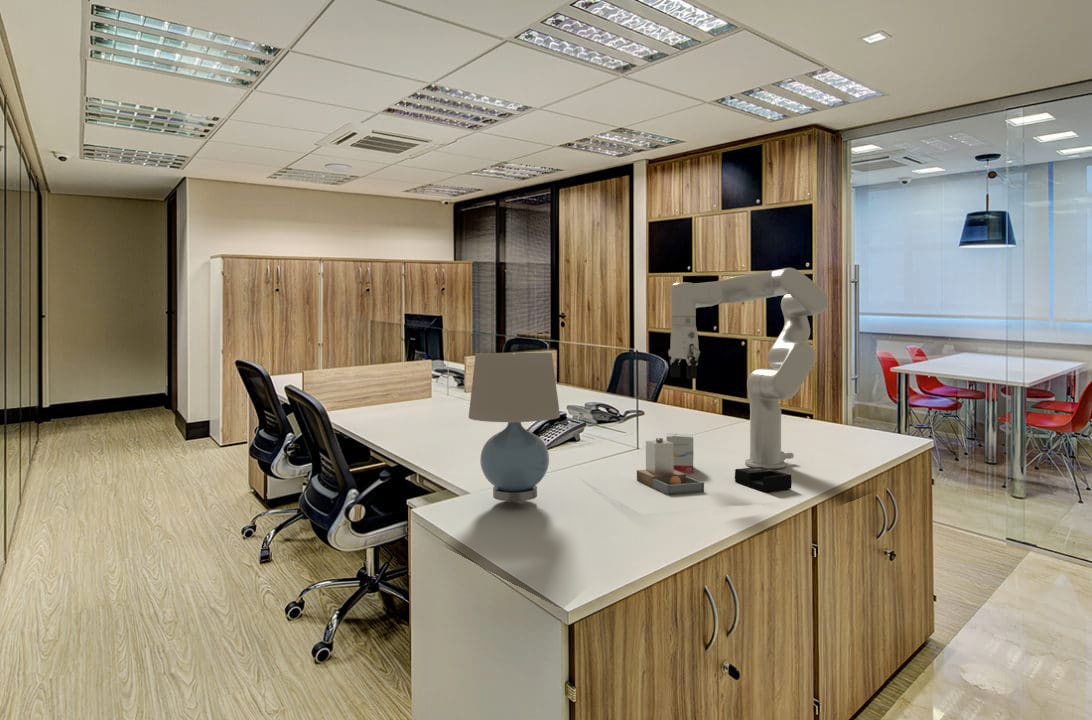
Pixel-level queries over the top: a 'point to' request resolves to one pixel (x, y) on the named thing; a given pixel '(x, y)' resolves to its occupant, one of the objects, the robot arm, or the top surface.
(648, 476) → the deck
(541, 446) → the lamp
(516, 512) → the top surface
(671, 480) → the ball
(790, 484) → the battery charger
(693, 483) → the tray
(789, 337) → the robot arm
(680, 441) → the ink box
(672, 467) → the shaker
